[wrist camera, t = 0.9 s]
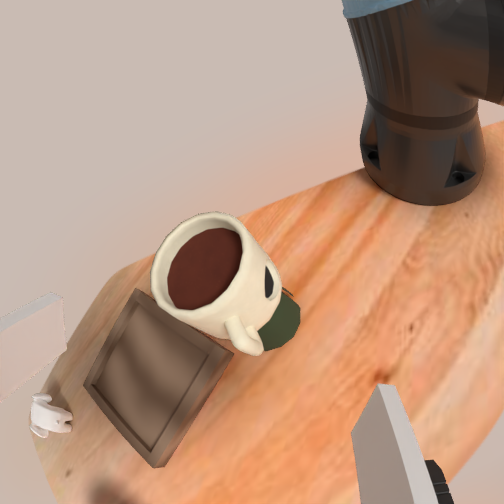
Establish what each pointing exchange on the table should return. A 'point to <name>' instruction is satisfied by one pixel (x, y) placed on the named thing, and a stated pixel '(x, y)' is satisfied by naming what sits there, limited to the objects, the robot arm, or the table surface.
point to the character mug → (223, 284)
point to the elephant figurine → (48, 416)
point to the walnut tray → (154, 377)
